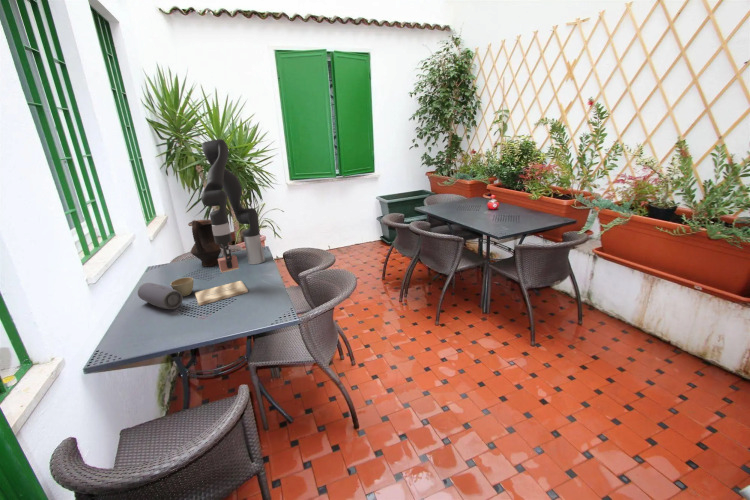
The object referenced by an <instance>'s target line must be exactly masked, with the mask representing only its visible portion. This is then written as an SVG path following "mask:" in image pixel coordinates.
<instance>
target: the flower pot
mask: <svg viewBox="0 0 750 500" xmlns="http://www.w3.org/2000/svg"><path fill="white" fill-rule="evenodd" d="M194 282H195V281H194V278H193V277H191V276H189V277H187V276H185V277H181V278H177V279H174V280H173V281H171V282H170V286H171V287H170V288H171V289H174V290H176V291H178V292H180V293H181V294H182V296H183V297H187V296H189V295H191V294H192V292H193V289H194Z"/></svg>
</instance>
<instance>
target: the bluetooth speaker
mask: <svg viewBox="0 0 750 500" xmlns="http://www.w3.org/2000/svg"><path fill="white" fill-rule="evenodd" d="M137 296H138V297H139V299H140V300H142V301H144V302H146V303H149V304H151V305H152V306H156V307H158V308H160V309H164V310H167V309H168V310H174V309H177V308H178V307H180V306H181V304H182V302H183V300H184V296H182V294H181V293H180V292H178V291H176V290H174V289H173V288H172V287H169V286H165V285H161V284H158V283H152V282H146V283H143V284H142V285H140V286H139V288H138V290H137Z"/></svg>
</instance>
